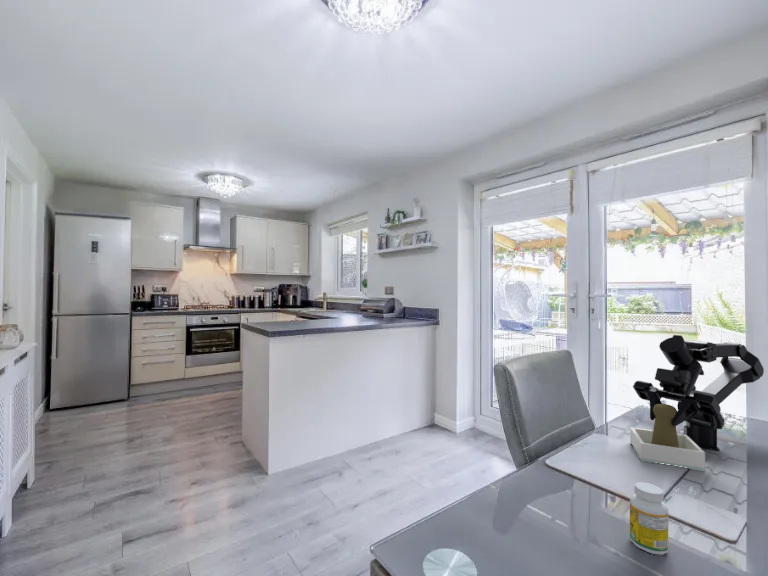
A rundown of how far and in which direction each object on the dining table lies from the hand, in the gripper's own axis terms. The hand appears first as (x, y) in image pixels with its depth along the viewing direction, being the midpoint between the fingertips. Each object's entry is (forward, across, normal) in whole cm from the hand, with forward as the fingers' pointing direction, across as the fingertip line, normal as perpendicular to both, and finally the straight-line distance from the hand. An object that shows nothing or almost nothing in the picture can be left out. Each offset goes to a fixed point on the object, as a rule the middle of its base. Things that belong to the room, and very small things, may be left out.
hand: (662, 422), depth 100 cm
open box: (+6, 0, +7) cm, 9 cm away
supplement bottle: (+36, +19, -24) cm, 48 cm away
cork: (+4, 0, +6) cm, 7 cm away
